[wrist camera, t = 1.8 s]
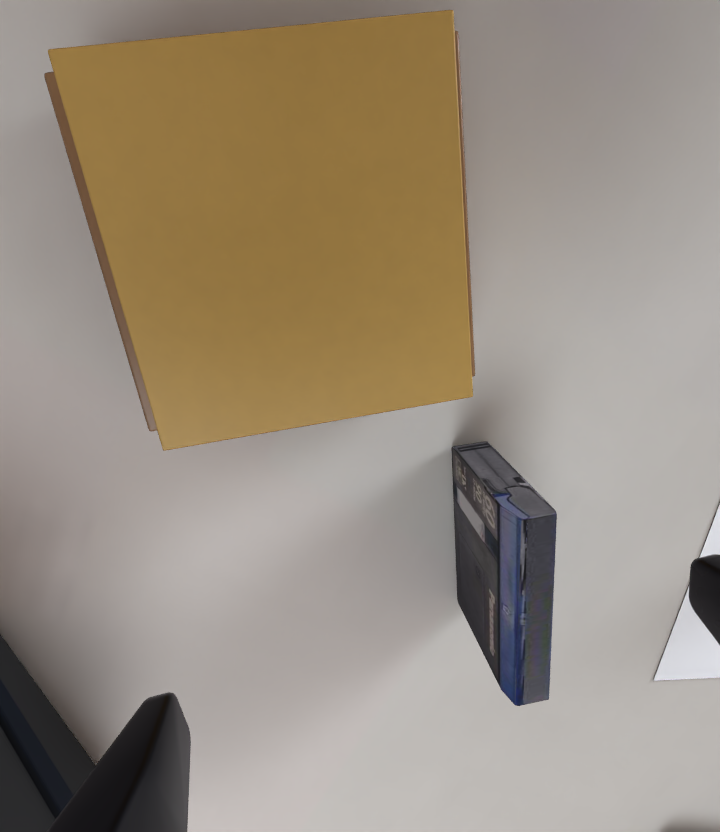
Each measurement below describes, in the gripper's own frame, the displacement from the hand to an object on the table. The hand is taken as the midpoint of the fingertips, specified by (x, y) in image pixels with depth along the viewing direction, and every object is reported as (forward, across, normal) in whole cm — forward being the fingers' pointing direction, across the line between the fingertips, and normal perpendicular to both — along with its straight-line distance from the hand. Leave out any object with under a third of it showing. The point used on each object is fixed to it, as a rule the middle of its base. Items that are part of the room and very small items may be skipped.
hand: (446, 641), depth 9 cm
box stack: (+13, +1, -6) cm, 14 cm away
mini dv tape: (+13, -4, +7) cm, 15 cm away
